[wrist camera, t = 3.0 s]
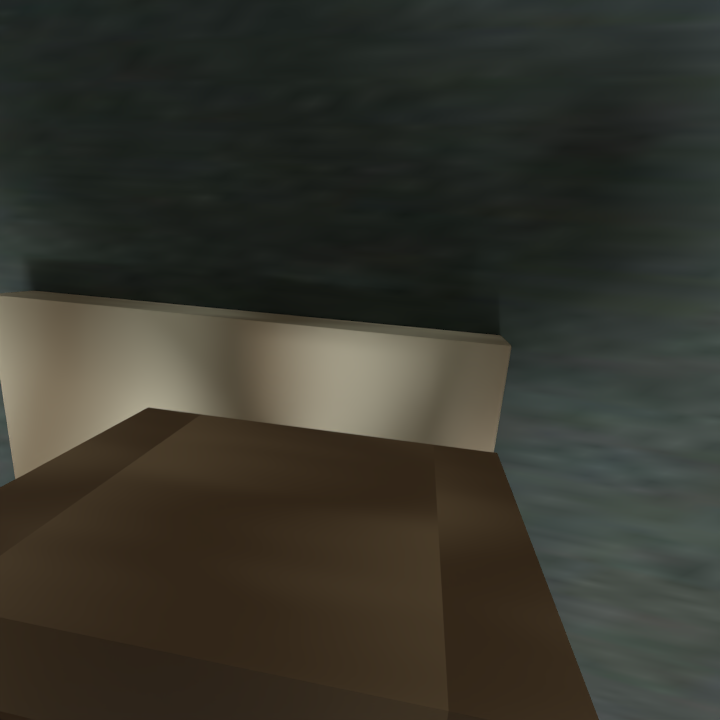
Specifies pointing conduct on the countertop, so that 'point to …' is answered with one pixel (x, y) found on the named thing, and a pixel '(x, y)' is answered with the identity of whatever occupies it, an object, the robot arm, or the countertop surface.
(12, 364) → the plate
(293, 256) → the countertop surface
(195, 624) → the slotted channel bracket
